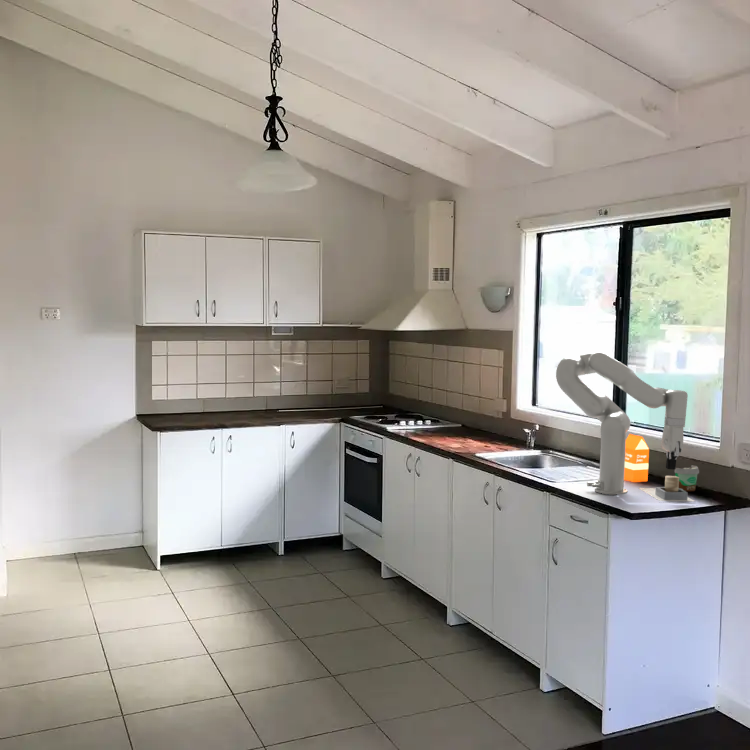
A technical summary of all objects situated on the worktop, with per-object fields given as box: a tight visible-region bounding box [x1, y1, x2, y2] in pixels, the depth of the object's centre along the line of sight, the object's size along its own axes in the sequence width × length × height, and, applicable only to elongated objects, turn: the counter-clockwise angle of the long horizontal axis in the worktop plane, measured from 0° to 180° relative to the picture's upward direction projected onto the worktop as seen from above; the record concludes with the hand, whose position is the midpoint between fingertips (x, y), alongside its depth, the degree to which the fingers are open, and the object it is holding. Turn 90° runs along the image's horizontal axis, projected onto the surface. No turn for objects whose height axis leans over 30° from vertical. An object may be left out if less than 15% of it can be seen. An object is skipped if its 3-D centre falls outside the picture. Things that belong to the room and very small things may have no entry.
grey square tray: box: [655, 486, 689, 500], centre depth 321 cm, size 9×9×3 cm
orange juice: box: [624, 433, 650, 483], centre depth 353 cm, size 8×9×20 cm
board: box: [638, 487, 695, 502], centre depth 326 cm, size 14×22×1 cm, turn 2°
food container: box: [673, 464, 700, 492], centre depth 335 cm, size 12×6×10 cm, turn 126°
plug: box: [664, 475, 679, 492], centre depth 320 cm, size 5×5×8 cm
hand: (670, 468), depth 320 cm, fingers closed
